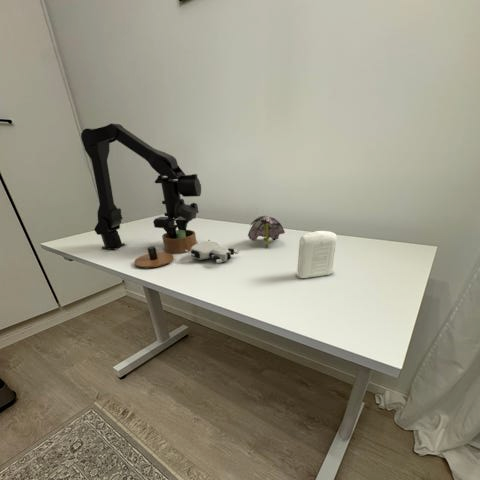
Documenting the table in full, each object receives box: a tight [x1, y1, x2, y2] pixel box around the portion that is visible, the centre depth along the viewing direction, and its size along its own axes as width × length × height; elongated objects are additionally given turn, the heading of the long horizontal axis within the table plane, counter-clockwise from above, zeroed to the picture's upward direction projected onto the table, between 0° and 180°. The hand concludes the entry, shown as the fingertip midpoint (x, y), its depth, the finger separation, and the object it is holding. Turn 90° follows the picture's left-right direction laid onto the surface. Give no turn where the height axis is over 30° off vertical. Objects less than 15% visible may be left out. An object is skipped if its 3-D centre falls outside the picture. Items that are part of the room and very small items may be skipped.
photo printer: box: [296, 230, 338, 279], centre depth 77 cm, size 10×4×12 cm, turn 103°
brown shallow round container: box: [161, 229, 198, 255], centre depth 105 cm, size 12×12×5 cm
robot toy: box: [185, 239, 239, 264], centre depth 94 cm, size 12×4×15 cm
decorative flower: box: [247, 215, 286, 248], centre depth 103 cm, size 15×12×15 cm
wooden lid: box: [134, 245, 174, 269], centre depth 94 cm, size 13×13×5 cm
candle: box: [176, 229, 186, 239], centre depth 104 cm, size 5×5×4 cm
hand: (179, 240), depth 105 cm, fingers closed on candle, 5 cm apart
